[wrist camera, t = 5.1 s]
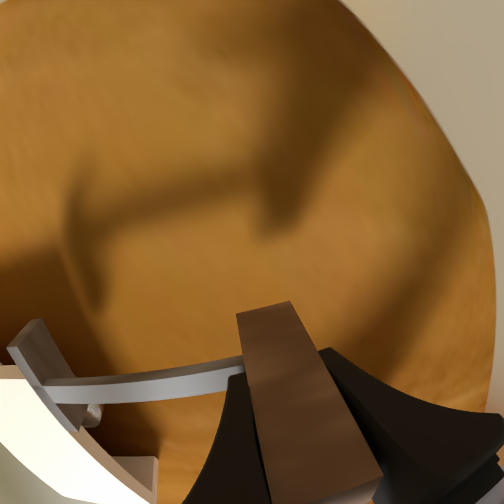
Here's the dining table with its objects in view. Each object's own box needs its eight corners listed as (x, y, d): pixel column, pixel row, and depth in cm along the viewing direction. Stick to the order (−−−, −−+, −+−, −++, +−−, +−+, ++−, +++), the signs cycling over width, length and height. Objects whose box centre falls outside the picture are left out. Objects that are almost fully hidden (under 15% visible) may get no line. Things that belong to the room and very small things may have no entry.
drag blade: (284, 265, 12) (398, 440, 3) (299, 367, 14) (362, 514, 5) (30, 319, 11) (-55, 432, 3) (79, 399, 13) (39, 514, 4)
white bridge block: (64, 323, 16) (26, 379, 10) (158, 460, 22) (156, 508, 16) (-19, 337, 15) (-52, 375, 9) (73, 457, 20) (63, 496, 15)
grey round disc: (86, 370, 17) (79, 387, 16) (114, 411, 19) (110, 428, 17) (45, 373, 17) (36, 388, 15) (73, 412, 19) (68, 427, 17)
